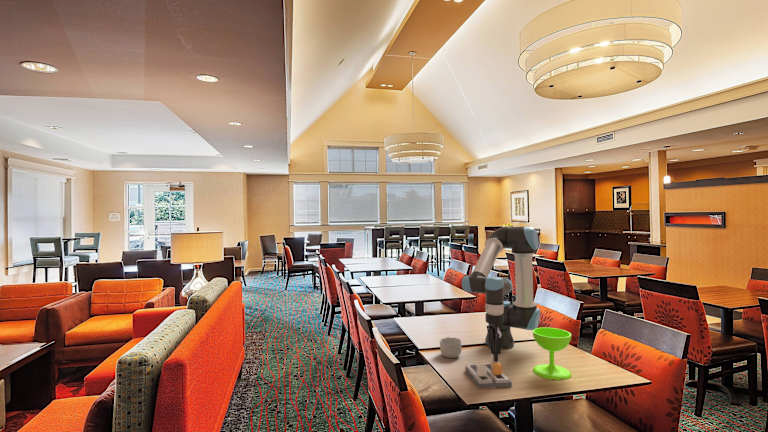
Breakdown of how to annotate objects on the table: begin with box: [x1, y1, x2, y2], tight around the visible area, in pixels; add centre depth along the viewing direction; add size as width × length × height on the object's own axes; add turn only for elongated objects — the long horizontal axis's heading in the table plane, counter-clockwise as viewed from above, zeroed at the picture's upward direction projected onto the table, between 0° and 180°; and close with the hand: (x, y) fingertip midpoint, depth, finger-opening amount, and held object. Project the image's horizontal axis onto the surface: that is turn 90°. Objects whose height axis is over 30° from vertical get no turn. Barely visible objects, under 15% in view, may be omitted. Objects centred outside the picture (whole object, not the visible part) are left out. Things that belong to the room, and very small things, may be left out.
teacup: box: [439, 336, 462, 359], centre depth 198 cm, size 14×11×8 cm
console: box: [464, 362, 513, 390], centre depth 169 cm, size 14×18×3 cm
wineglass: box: [532, 326, 572, 381], centre depth 175 cm, size 16×16×18 cm
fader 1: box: [476, 363, 487, 379], centre depth 165 cm, size 3×3×5 cm
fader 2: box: [492, 362, 503, 377], centre depth 166 cm, size 3×3×5 cm
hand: (494, 367), depth 168 cm, fingers closed
